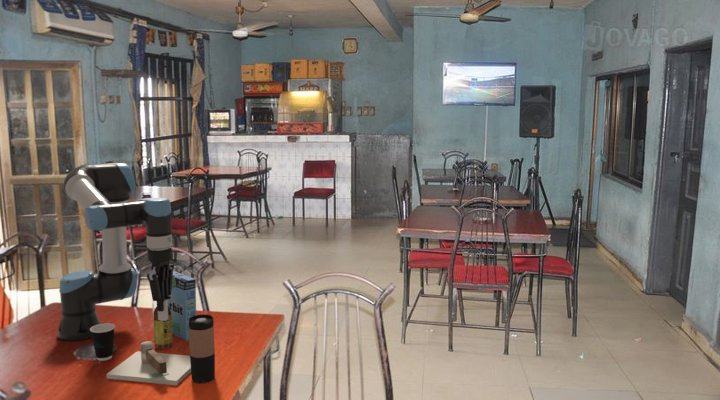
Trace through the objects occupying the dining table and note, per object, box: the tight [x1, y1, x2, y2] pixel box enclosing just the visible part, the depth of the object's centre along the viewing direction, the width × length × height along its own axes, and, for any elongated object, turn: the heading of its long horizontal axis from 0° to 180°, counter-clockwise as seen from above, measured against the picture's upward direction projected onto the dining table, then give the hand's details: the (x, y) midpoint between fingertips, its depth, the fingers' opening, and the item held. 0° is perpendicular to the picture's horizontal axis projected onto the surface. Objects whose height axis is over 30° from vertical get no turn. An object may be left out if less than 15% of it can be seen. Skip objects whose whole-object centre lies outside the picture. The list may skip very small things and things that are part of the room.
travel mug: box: [188, 314, 216, 384], centre depth 187 cm, size 8×8×20 cm
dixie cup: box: [90, 322, 116, 362], centre depth 202 cm, size 8×8×11 cm
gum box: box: [168, 270, 197, 342], centre depth 224 cm, size 20×5×23 cm, turn 47°
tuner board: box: [106, 350, 191, 386], centre depth 194 cm, size 24×18×2 cm
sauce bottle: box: [153, 299, 174, 350], centre depth 212 cm, size 7×6×20 cm
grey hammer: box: [140, 340, 167, 374], centre depth 191 cm, size 17×4×6 cm, turn 38°
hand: (163, 319), depth 188 cm, fingers closed
